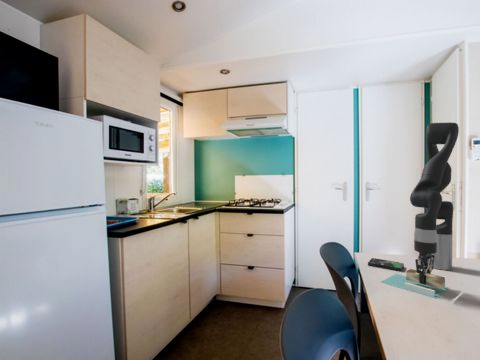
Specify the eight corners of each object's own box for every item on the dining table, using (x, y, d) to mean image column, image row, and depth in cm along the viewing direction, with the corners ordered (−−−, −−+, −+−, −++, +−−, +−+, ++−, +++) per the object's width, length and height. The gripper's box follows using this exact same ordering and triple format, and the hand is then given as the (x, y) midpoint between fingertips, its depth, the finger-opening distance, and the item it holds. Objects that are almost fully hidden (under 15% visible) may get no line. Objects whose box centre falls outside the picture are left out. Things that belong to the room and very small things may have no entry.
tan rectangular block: (444, 286, 105) (444, 277, 105) (441, 289, 103) (441, 279, 103) (410, 277, 115) (410, 268, 115) (406, 279, 112) (406, 271, 112)
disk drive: (367, 268, 136) (401, 273, 127) (367, 262, 136) (401, 268, 127) (371, 262, 145) (404, 268, 136) (371, 257, 145) (403, 262, 136)
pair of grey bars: (417, 280, 117) (417, 275, 117) (445, 287, 109) (445, 283, 109) (404, 288, 109) (404, 283, 109) (433, 296, 101) (434, 291, 101)
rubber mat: (396, 274, 125) (396, 273, 125) (449, 289, 109) (449, 287, 109) (379, 283, 115) (379, 282, 115) (435, 300, 99) (435, 298, 99)
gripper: (430, 244, 101) (429, 289, 101) (442, 239, 110) (442, 281, 110) (407, 240, 107) (407, 283, 107) (421, 236, 116) (421, 275, 116)
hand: (425, 282), depth 109 cm, fingers closed on tan rectangular block, 4 cm apart
